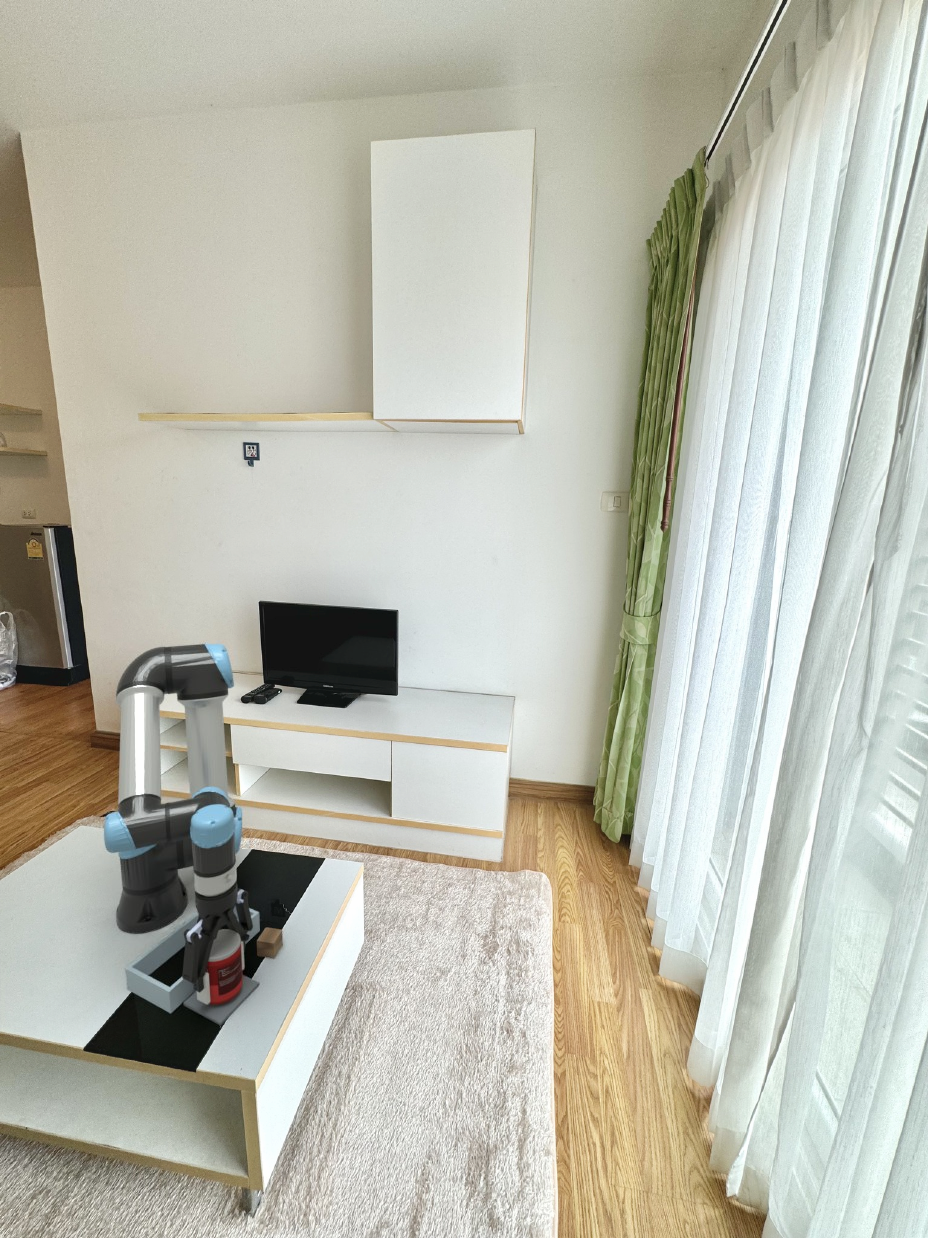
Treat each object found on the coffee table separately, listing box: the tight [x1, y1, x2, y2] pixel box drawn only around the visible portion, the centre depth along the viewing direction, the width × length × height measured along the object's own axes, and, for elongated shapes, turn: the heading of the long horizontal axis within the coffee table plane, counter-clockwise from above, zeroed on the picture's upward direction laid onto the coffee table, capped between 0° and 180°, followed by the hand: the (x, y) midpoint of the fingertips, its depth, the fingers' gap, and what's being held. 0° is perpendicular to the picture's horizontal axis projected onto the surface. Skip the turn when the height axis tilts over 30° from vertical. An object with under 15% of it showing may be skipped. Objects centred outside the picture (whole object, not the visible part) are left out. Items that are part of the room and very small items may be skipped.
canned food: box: [205, 928, 243, 1005], centre depth 108 cm, size 8×8×11 cm
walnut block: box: [256, 927, 284, 960], centre depth 121 cm, size 4×4×4 cm
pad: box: [183, 974, 260, 1026], centre depth 110 cm, size 10×10×1 cm
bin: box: [124, 906, 261, 1014], centre depth 118 cm, size 13×24×5 cm, turn 157°
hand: (221, 983), depth 109 cm, fingers open, 8 cm apart
